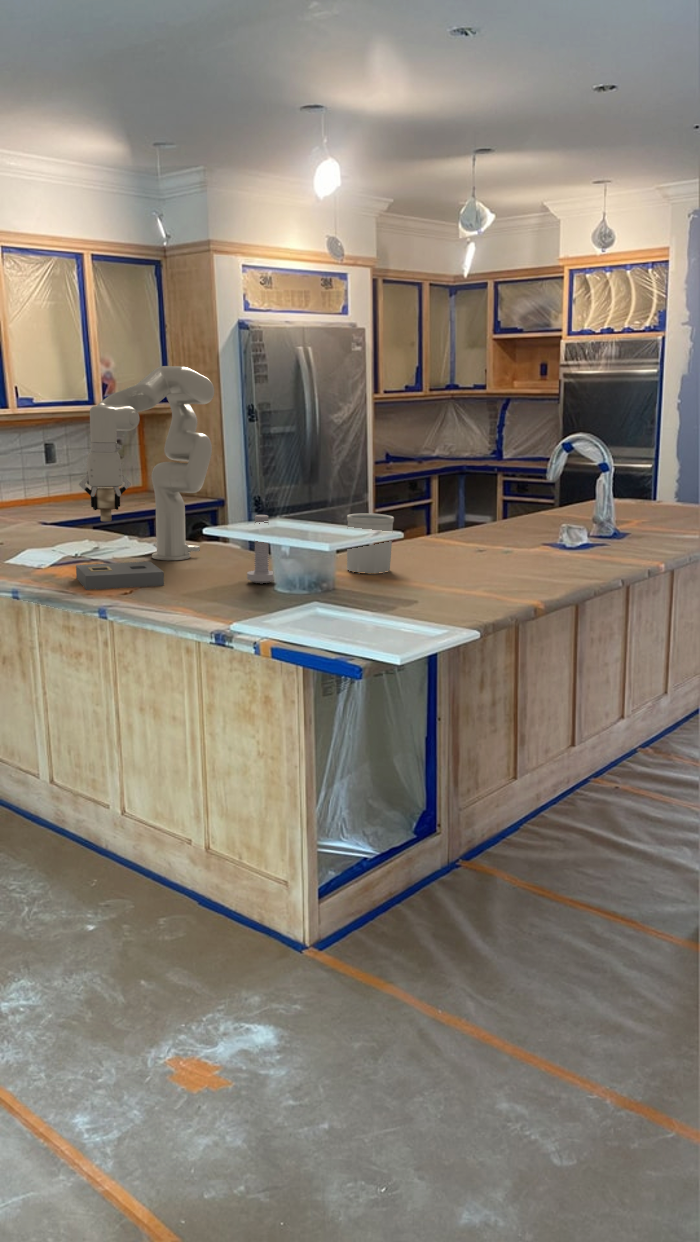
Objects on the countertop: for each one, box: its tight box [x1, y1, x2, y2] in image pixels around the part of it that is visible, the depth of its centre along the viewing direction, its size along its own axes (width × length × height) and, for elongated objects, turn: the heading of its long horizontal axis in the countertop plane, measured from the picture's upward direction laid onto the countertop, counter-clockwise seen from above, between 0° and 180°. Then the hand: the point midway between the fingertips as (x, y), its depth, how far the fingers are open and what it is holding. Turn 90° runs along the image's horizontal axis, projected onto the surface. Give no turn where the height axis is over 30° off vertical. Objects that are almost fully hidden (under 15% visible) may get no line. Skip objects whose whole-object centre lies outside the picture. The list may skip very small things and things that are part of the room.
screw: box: [246, 514, 274, 585], centre depth 295 cm, size 8×8×20 cm
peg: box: [95, 487, 116, 522], centre depth 301 cm, size 6×6×10 cm
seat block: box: [75, 561, 165, 591], centre depth 294 cm, size 22×18×4 cm
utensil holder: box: [346, 512, 395, 573], centre depth 318 cm, size 15×15×18 cm
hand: (105, 508), depth 302 cm, fingers closed on peg, 5 cm apart
